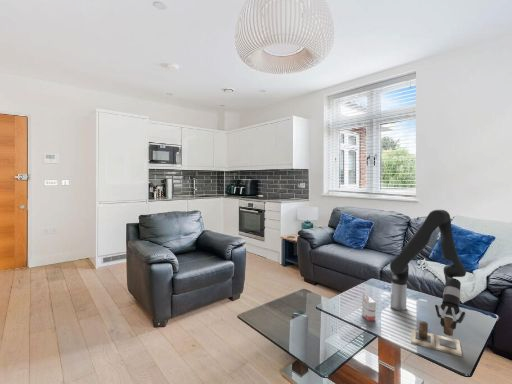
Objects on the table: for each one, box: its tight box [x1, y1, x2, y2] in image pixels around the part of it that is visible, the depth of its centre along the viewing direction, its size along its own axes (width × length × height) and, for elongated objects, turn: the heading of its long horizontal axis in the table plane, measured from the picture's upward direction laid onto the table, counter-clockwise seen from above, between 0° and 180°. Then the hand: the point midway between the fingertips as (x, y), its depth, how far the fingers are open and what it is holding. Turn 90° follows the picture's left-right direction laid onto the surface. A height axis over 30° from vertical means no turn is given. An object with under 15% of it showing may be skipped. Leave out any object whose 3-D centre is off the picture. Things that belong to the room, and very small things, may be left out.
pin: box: [418, 320, 429, 339], centre depth 151 cm, size 4×4×8 cm
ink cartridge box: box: [361, 292, 377, 322], centre depth 175 cm, size 9×5×15 cm, turn 5°
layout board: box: [410, 328, 463, 357], centre depth 148 cm, size 22×14×1 cm, turn 59°
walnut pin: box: [443, 316, 454, 337], centre depth 145 cm, size 4×4×8 cm
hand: (447, 327), depth 144 cm, fingers closed on walnut pin, 4 cm apart
